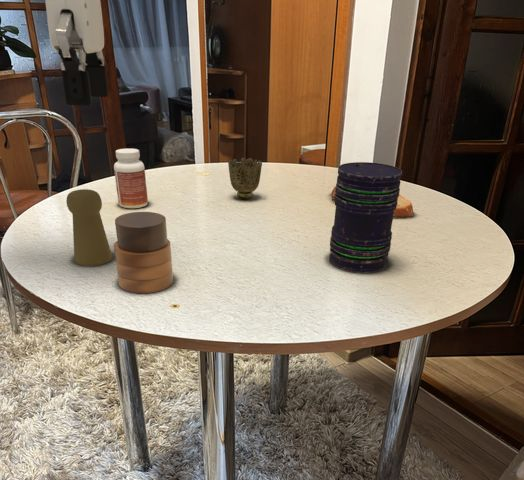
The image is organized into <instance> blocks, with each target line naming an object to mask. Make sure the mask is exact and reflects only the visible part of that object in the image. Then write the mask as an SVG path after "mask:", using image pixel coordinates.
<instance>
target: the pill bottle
mask: <svg viewBox="0 0 524 480" xmlns="http://www.w3.org/2000/svg"><path fill="white" fill-rule="evenodd" d="M140 153H141V152H140V149H137V148H119V149H116V150H115V157H116V160H117V161H116V162H114V164H113V172H114V179H115V187H116V194H117V202H118V206H120V207H121V208H124V209H140V208H143V207H146V206H148V204H149V197H148V187H147V179H146V168H145V164H144V162H143V161H142V160H140V157H141V154H140Z"/></svg>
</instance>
